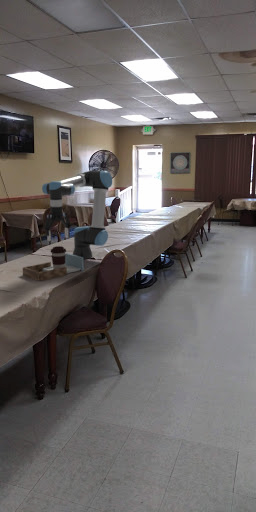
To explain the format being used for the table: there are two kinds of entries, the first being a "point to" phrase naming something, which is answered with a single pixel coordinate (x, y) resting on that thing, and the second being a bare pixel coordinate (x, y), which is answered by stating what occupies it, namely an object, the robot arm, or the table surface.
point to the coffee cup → (58, 257)
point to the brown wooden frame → (37, 273)
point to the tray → (71, 263)
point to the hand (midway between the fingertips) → (58, 239)
